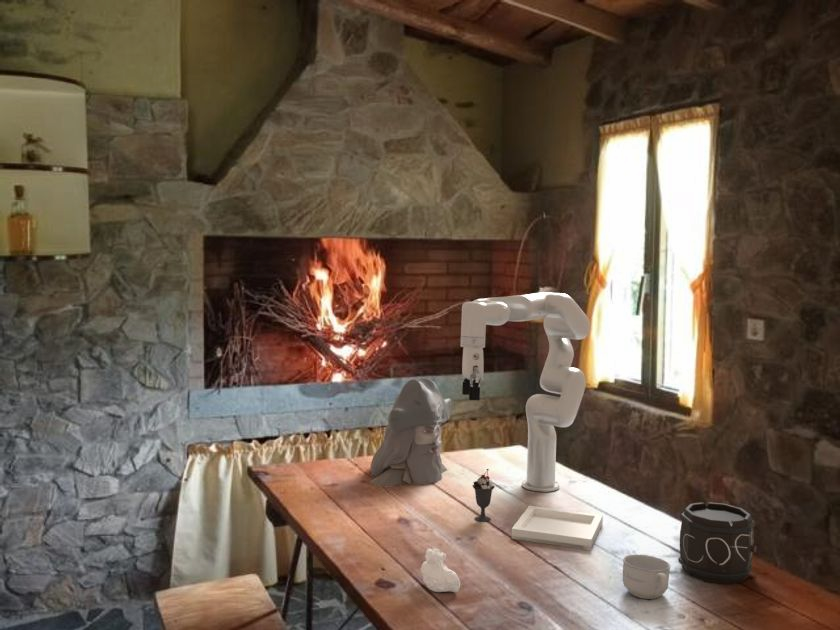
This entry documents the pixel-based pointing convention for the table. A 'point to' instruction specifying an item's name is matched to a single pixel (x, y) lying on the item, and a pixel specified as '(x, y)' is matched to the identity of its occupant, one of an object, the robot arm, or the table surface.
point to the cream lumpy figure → (438, 573)
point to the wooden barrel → (716, 543)
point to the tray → (558, 527)
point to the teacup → (645, 575)
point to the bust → (412, 437)
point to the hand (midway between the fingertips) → (470, 397)
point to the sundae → (483, 495)
